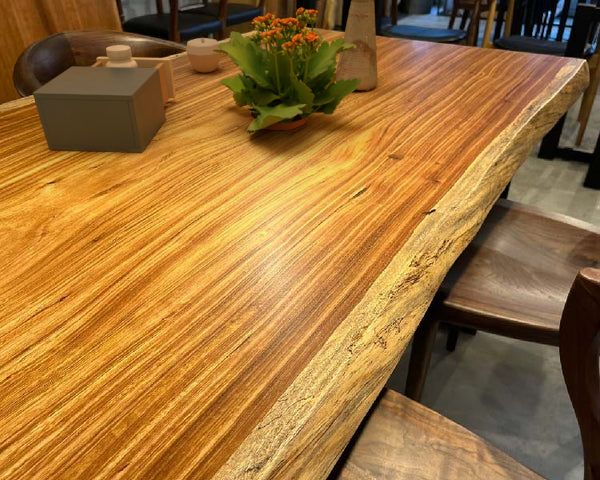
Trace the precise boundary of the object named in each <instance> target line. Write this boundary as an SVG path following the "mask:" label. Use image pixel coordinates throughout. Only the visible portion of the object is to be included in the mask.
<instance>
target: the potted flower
mask: <svg viewBox="0 0 600 480" xmlns="http://www.w3.org/2000/svg"><path fill="white" fill-rule="evenodd" d="M318 13H319V10H315V9H305V8H304V7H299V8H298V9H296V12H295V17H296V18H295V17H286V18H282V19H281V18H279V17H278V18H275V17H276V15H275V14H272V13H270V12H267V13H266V14H265V16H264V15H263V16H260V15H258V16H257V17H255V18H253V19H252V21H251V25H252V26H253V25H254V26H255V27H254V28H253V29H254V30H255V31H256V32H252V33H251V34H248V36H245V37H244V35H242V34H241V33H240V31H237V32H236V31H230V35H229V38H230V39H228V41H229V42H228V41H226V42H225V43H223V42H219V45H218V47H219V48H220V49H214V50H213V51H214V52H219V53H221V54H224V55H226V56H228V57H229V58H230V59H231V60H232V62H233V64H235V66H237V67H238V70H239V71H241V73H242V74H240V73H238V74H237V75H234V76H233V78H231V77H228V78H222V79H221V80H220V84H221V85H223V86H225V87H226V88H228V89H229V90H230V91H231V92H232V98H233V100H234V104H235V105H236V106H237V108H240V109H241V108H243V107H247V106H248V107H250V108H248V109H247V112H249V115H250V118H251V122H250V123H249V125H248V127H247V128H246V133H247V134H248V135H250V134H254V133H255V132H258V130H261V129H264V130H268V131H269V130H270V131H291V130H294V129H297V128H299V127H302V126H303V125H305V123H306V121H307V119H308V118H310V116H311V115H313V114H315V113H316V114H325V115H333V114H334V113H335V111H336V110H337V107H338V106H339V105H340V104H341V101H343V100H344V99H345V98H346V97H347V96H350V94H352V93H353V92H354V91H356V90H355V89H356V88H357V87H358V86H359V85H360V84H361V82H362V79H358V80H357V78H355V79H352V80H351V79H348V80H346V81H344V80H343V79H342V80H340V81H337V82H336V75H337V73H336V71H337V67H336V66H337V65H338V62H337V55H338V54H339V55H340V53H341V52H343V51H346V50H350V49H354V48H356V47H357V46H356V45H355V44H350V43H349V41H348V42H346V43H345V44H344V37H338V38H336V39H335V40H334V39H333V40H332V41H331V42H330V43H329V41H328V40H323V39H324V36H322V34H321V33H320V31H318V30H317V31H316V30H315V29H314V24H315V23H317V21H318V17H317V14H318ZM307 25H310V26H311V29H310V28H309V27H307ZM255 33H256V34H255ZM263 44H264V47H265V48H263V47H262V46H261V45H263ZM268 47H269V48H268Z"/></svg>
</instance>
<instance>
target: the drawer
mask: <svg viewBox="0 0 600 480" xmlns="http://www.w3.org/2000/svg"><path fill="white" fill-rule="evenodd" d="M131 59H133V60H134V61H136V63H137V65H138V68H158V69H159V75H160V82H161V89H162V96H163V103H164V105H166V104H167V102H168V100H169V99H175V98H176V97H177V94H176V93H177V92H176V85H175V77H174V71H173V64H172V58H169V57H133V56H131ZM95 60H96V62H95V63H93V64H92V65H91V66H90V67H106V64H107V62H108V61H110V59H109V58H108V56H98V57H96V59H95Z"/></svg>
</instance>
